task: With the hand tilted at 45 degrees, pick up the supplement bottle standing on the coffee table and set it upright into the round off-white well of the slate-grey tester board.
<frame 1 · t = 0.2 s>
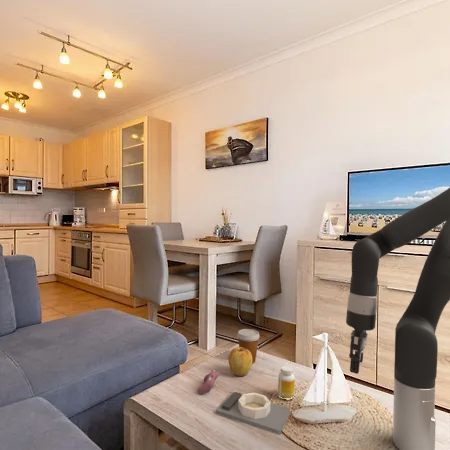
hand: (356, 366, 90), 18 cm above the table, tool pointing down, fingers open, 8 cm apart
tester board: (254, 412, 97), on the table
supplement bottle: (286, 397, 107), on the table
apple: (240, 374, 122), on the table
pink piece: (208, 389, 111), on the table
disposable coffee cup: (247, 361, 134), on the table
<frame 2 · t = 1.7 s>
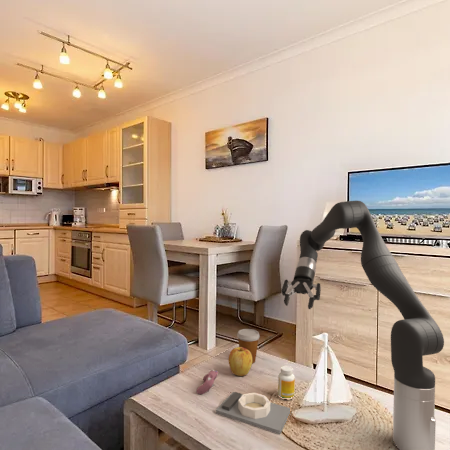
hand: (297, 306, 118), 27 cm above the table, tool tilted 45°, fingers open, 8 cm apart
nothing on the table moved.
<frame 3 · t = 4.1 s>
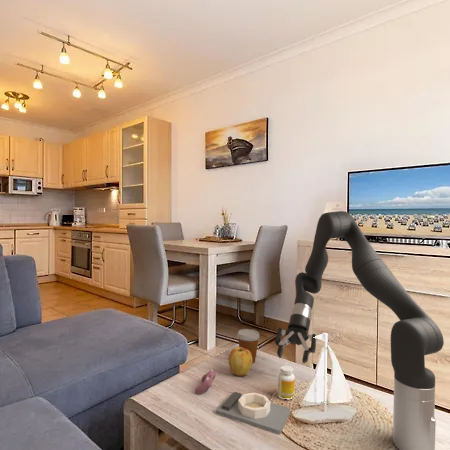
hand: (291, 359, 111), 10 cm above the table, tool tilted 45°, fingers open, 8 cm apart
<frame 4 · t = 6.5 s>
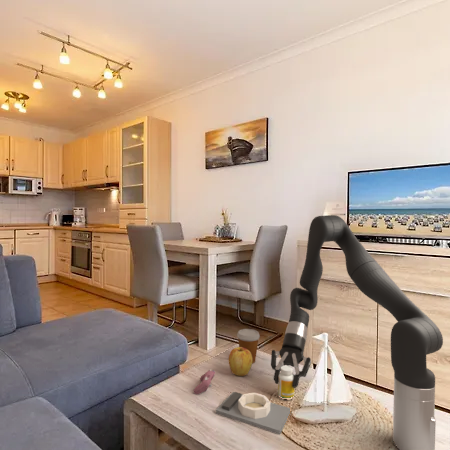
hand: (284, 384, 105), 5 cm above the table, tool tilted 45°, fingers closed on supplement bottle, 5 cm apart
supplement bottle: (286, 397, 107), on the table, touching gripper
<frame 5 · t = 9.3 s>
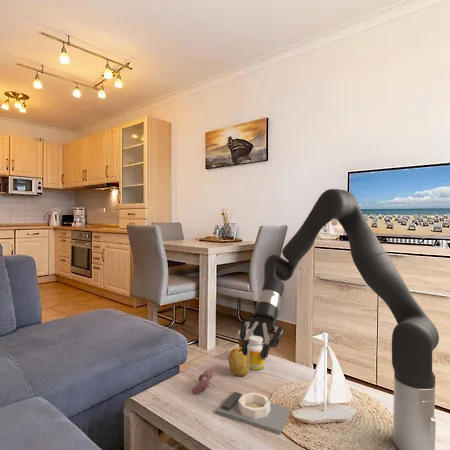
hand: (253, 356, 96), 18 cm above the table, tool tilted 45°, fingers closed on supplement bottle, 5 cm apart
supplement bottle: (255, 369, 98), point 13 cm above the table, touching gripper
when the fingers open (7 cm above the table, at t = 12.2 s): supplement bottle drops 1 cm, resting on tester board.
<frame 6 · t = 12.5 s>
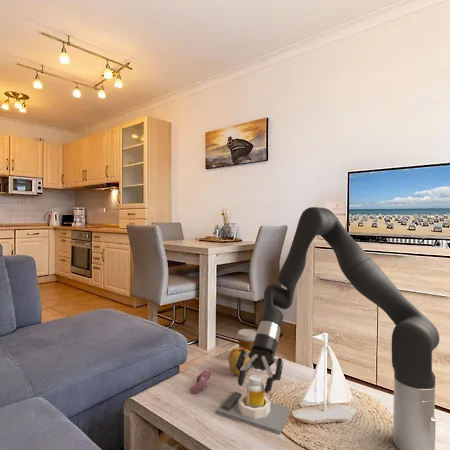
hand: (252, 388, 96), 8 cm above the table, tool tilted 45°, fingers open, 8 cm apart
supplement bottle: (255, 409, 98), point 1 cm above the table, touching tester board
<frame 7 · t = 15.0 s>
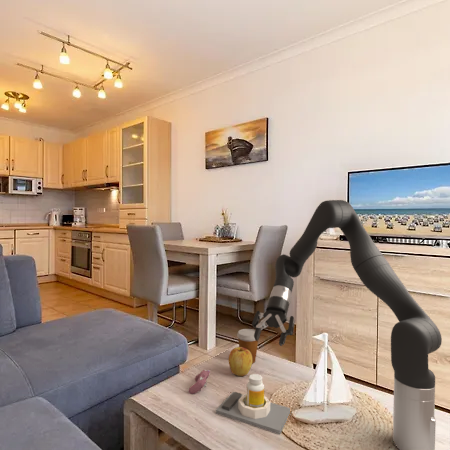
hand: (268, 342, 108), 18 cm above the table, tool tilted 45°, fingers open, 8 cm apart
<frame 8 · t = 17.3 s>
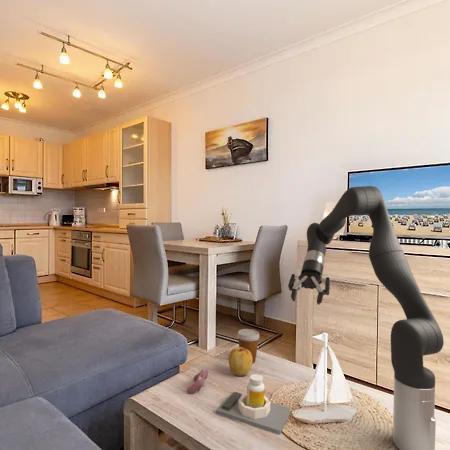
hand: (305, 301, 111), 31 cm above the table, tool tilted 45°, fingers open, 8 cm apart
at the end: supplement bottle 0.3 cm off-centre on the tester board, point 1.0 cm above the tester board's base; supplement bottle tilted 1°; the gripper is holding nothing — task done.
